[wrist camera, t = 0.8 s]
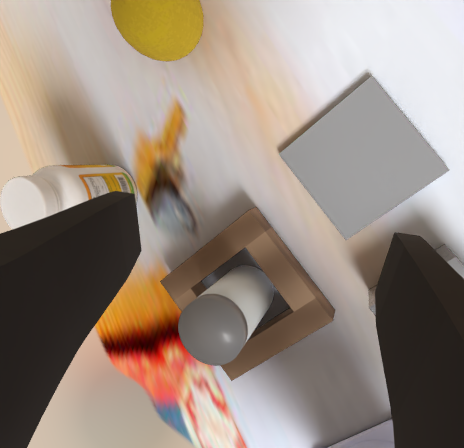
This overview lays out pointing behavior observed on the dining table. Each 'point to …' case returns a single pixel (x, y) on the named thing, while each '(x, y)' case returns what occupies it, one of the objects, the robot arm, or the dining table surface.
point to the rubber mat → (362, 159)
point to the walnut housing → (280, 274)
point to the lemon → (159, 26)
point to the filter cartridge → (225, 315)
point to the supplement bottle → (59, 190)
